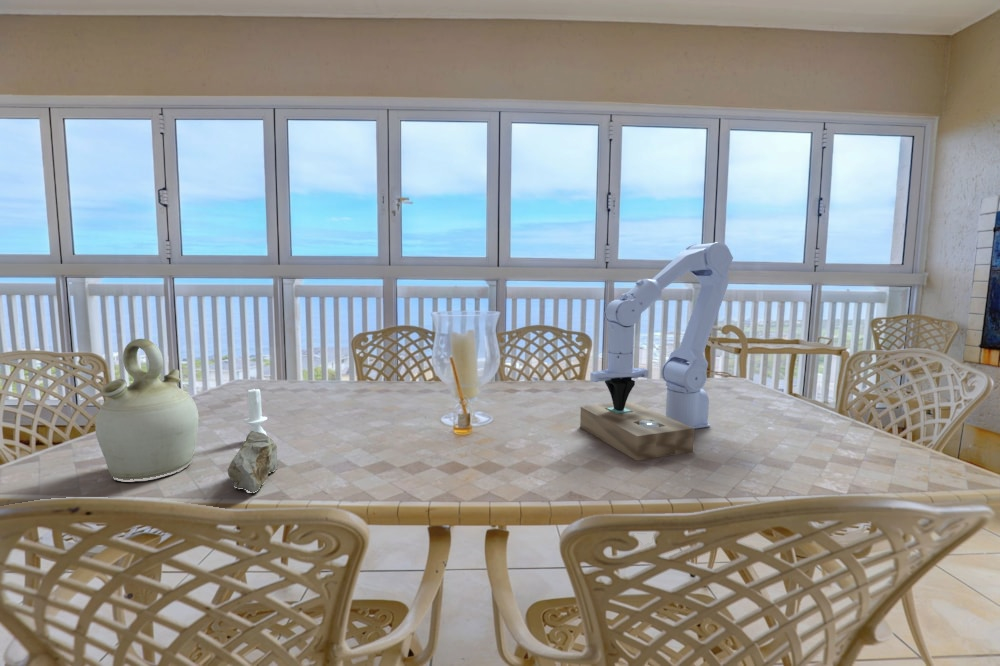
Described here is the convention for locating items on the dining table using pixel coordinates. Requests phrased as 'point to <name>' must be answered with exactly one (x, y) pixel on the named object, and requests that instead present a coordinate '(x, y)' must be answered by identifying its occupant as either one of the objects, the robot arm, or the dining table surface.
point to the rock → (253, 462)
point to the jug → (146, 419)
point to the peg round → (648, 424)
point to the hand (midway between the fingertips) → (618, 409)
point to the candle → (255, 411)
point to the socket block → (637, 431)
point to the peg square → (618, 411)
